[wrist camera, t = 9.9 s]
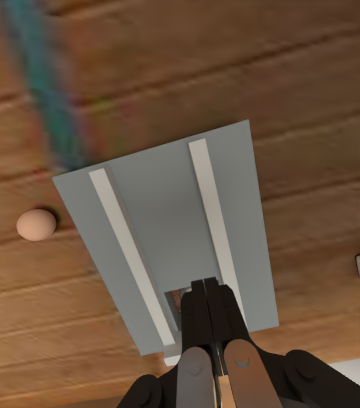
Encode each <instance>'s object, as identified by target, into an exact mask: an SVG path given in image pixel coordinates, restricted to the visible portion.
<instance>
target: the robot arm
mask: <svg viewBox="0 0 360 408" xmlns="http://www.w3.org/2000/svg"><path fill="white" fill-rule="evenodd" d="M204 284H205V287H204ZM205 289H206V291H205ZM191 290H192V291H189V292H184V293H183V296H182V298H181V333H182V353H181V356H180V359H179V361H178V363H177V364H176V365H175V367H174V368H173V369H171V370H170V371H169V372H167V373H165V374H164V375H162V376H160V377H159V378H156V377H155V376H154V375H151V374H146V375H143V376H141V377H140V378H138V379H137V380H136V381H135V382H134V383H133V385H132V386H131V388H130V389H129V390H128V392H127V393H126V395H125V396H124V398H123V399H122V400H121V402H120V403H119V405H118V406H117V408H222V401H221V391H220V384H219V379H218V376H223V375H222V370H221V365H222V369H223V373H224V375H228V377H229V381H230V385H231V390H232V394H233V398H234V402H235V406H236V408H360V386H359V385H358V384H356V383H355V382H353V381H352V380H350V379H349V378H347V377H346V376H344V375H343V374H341V373H340V372H338V371H337V370H335V369H333V368H332V367H330V366H329V365H327V364H326V363H324V362H323V361H321V360H320V359H318V358H317V357H315V356H314V355H312V354H310V353H309V352H306V351H303V350H291V351H289V352H288V353H287V354H286V355H285V356H283V355H277V354H272V353H268V352H266V351H264V350H262V349H260V348H259V347H258V346H257V345H255V343H254V342H253V341H252V339H251V337H250V335H249V333H248V330H247V327H246V324H245V322H244V319H243V316H242V314H241V311H240V308H239V306H238V303H237V301H236V297H235V295H234V292H233V290H232V289H231V288H230V287H229V286H228V285H227V284H224V285H219V286H218V283H217V280H216V277H215V276H214V277H209V278H204V282H203V279H200V280H195V281H191ZM206 294H207V295H206ZM217 348H218V349H217ZM218 352H219V354H218ZM219 357H220V359H219ZM220 361H221V364H220Z"/></svg>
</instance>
